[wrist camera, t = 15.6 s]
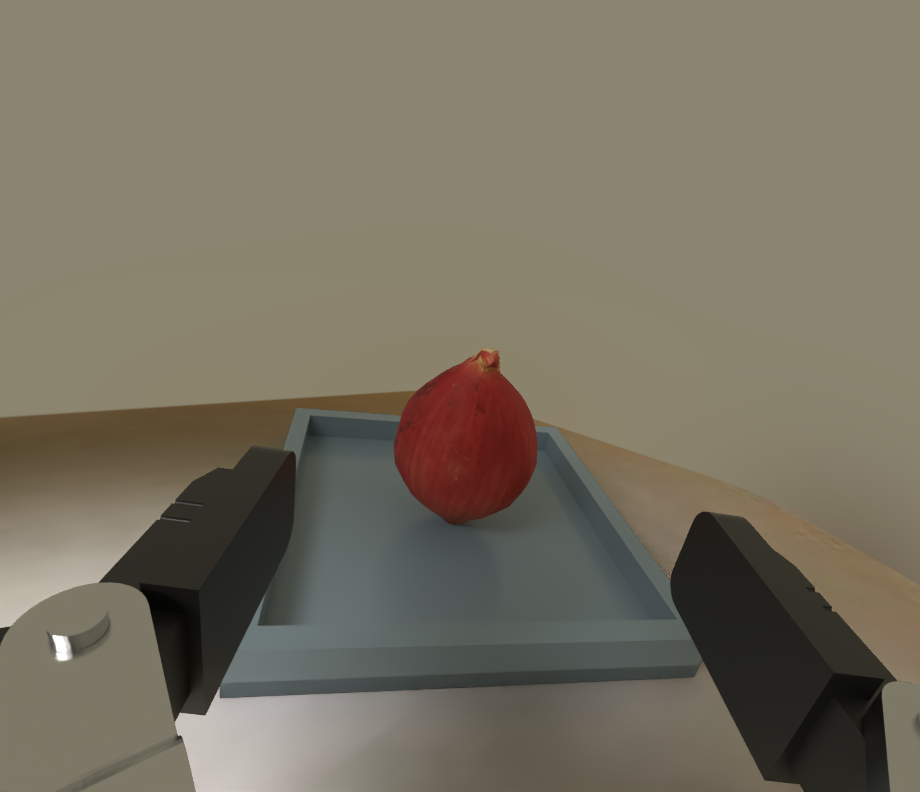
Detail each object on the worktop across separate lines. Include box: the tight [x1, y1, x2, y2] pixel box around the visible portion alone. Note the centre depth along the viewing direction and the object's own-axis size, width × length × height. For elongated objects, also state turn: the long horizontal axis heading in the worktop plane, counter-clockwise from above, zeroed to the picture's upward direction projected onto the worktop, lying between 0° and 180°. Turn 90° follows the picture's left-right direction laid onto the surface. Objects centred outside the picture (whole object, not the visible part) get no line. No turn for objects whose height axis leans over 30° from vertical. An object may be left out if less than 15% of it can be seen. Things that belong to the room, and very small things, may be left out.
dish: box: [220, 408, 702, 698], centre depth 22 cm, size 15×15×2 cm
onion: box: [394, 348, 538, 525], centre depth 20 cm, size 6×6×8 cm
